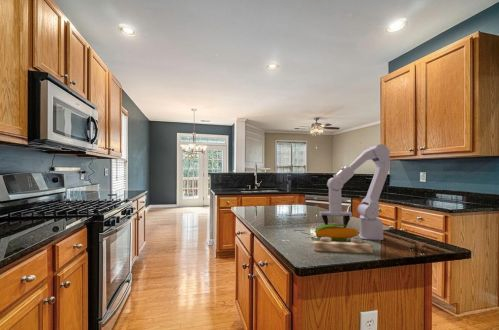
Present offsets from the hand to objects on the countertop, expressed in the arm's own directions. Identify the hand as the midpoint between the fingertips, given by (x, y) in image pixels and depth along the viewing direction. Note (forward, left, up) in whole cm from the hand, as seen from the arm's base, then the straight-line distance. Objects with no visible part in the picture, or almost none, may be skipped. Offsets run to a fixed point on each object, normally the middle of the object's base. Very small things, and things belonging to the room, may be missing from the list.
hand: (335, 231), depth 118 cm
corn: (0, +4, -3) cm, 5 cm away
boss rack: (0, +17, -3) cm, 18 cm away
